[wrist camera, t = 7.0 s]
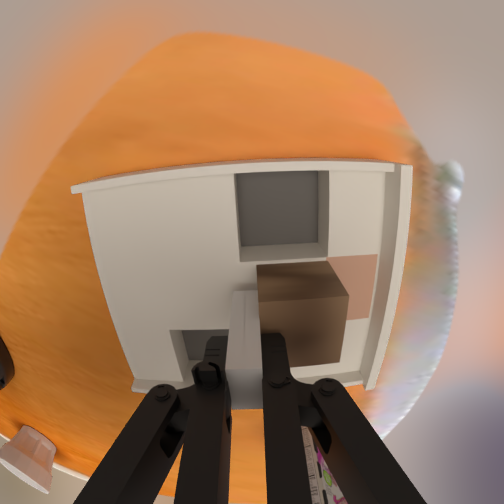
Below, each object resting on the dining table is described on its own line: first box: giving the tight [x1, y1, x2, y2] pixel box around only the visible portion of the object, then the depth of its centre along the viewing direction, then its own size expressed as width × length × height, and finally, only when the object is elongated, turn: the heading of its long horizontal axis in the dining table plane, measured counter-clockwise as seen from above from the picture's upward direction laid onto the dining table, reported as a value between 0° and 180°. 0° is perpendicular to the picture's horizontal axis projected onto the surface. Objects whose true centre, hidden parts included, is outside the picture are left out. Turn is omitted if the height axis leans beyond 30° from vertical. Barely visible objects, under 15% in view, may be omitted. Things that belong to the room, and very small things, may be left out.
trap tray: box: [71, 158, 413, 393], centre depth 19 cm, size 20×17×5 cm
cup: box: [0, 425, 56, 494], centre depth 29 cm, size 12×12×11 cm
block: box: [256, 261, 349, 368], centre depth 16 cm, size 4×4×4 cm
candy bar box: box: [301, 426, 348, 504], centre depth 21 cm, size 11×5×16 cm, turn 28°
